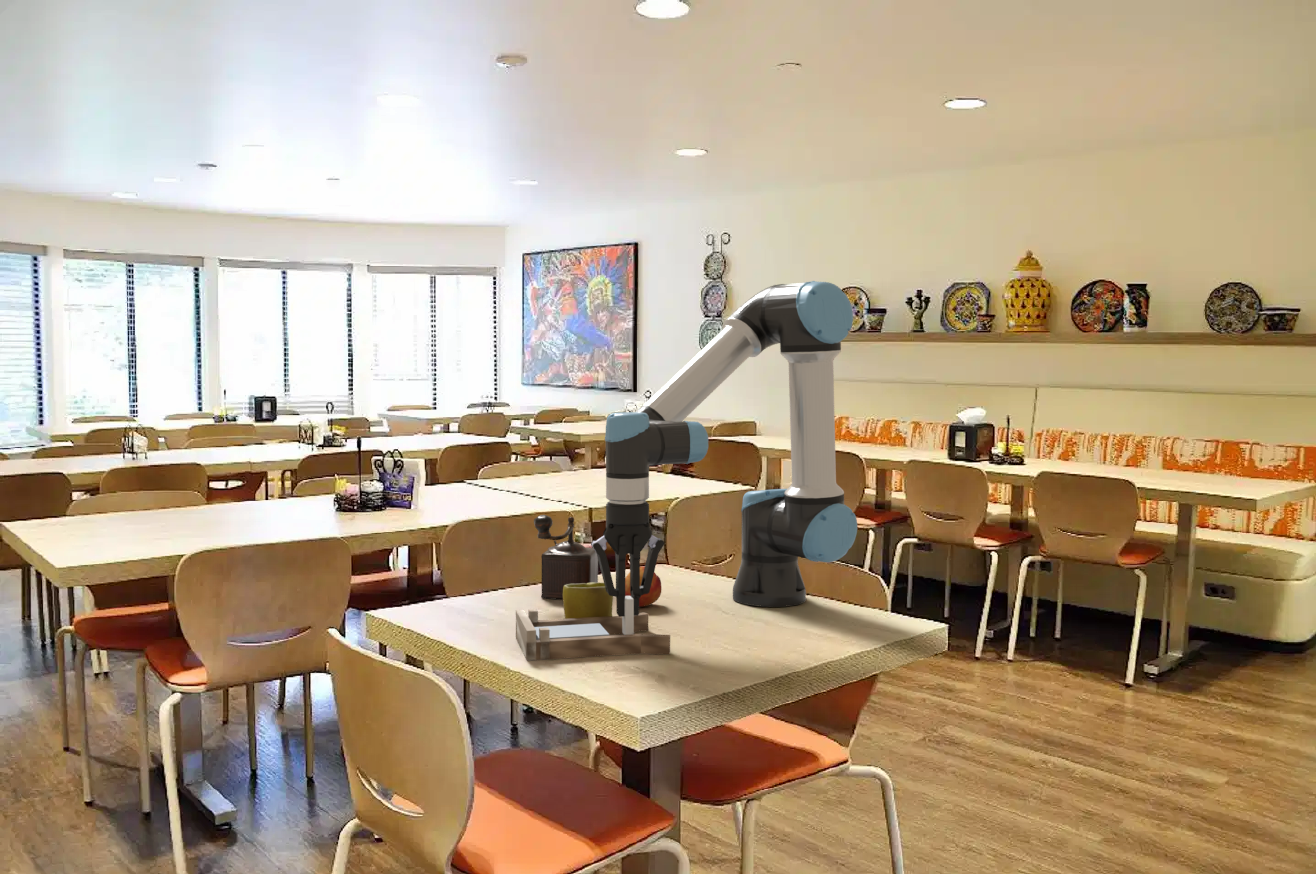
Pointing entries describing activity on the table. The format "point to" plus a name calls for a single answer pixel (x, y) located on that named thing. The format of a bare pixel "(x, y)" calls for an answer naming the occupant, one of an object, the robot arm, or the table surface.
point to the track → (586, 638)
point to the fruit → (654, 590)
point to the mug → (586, 600)
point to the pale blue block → (574, 631)
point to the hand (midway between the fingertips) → (627, 633)
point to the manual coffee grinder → (564, 560)
